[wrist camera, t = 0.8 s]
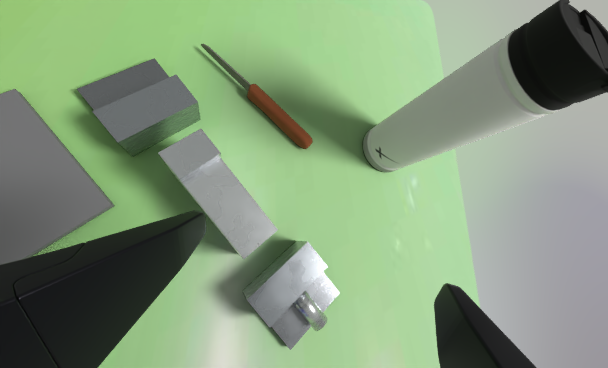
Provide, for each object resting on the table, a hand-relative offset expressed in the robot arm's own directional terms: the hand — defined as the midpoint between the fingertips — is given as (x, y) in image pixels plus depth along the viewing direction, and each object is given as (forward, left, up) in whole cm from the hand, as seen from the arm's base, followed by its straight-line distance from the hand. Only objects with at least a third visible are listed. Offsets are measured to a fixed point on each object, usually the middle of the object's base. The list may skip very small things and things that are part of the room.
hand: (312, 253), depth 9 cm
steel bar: (0, +5, -16) cm, 17 cm away
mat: (-12, +16, -16) cm, 26 cm away
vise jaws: (0, +5, -16) cm, 17 cm away
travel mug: (+20, -2, -16) cm, 26 cm away
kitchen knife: (+10, +12, -17) cm, 23 cm away
